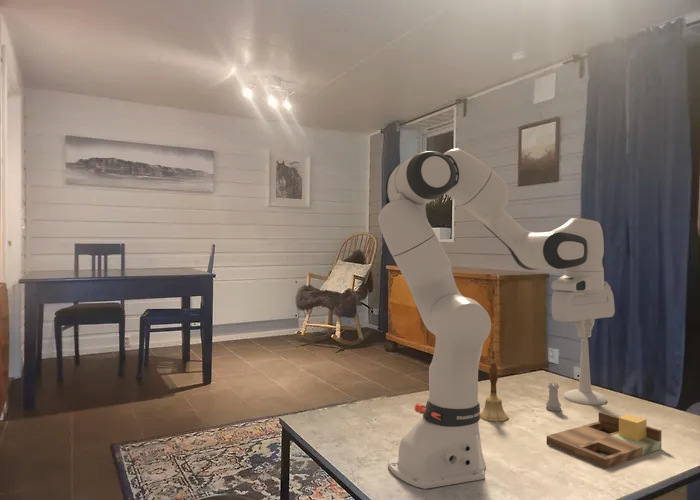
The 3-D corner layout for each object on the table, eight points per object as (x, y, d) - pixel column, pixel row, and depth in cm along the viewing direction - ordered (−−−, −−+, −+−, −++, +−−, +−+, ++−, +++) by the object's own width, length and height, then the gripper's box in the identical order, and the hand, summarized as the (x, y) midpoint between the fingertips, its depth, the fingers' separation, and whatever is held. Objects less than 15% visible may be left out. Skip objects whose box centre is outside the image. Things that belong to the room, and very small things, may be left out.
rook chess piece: (562, 412, 147) (562, 385, 147) (547, 411, 148) (547, 385, 148) (559, 407, 151) (559, 381, 151) (544, 406, 152) (544, 381, 152)
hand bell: (473, 415, 145) (473, 361, 145) (493, 410, 149) (493, 358, 149) (494, 424, 137) (494, 367, 137) (514, 418, 141) (514, 364, 141)
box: (606, 468, 109) (606, 448, 109) (546, 443, 123) (546, 426, 123) (661, 448, 120) (661, 430, 120) (600, 428, 134) (600, 411, 134)
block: (637, 441, 120) (637, 422, 120) (618, 435, 123) (618, 417, 123) (646, 437, 122) (646, 419, 122) (628, 431, 126) (628, 414, 126)
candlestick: (559, 392, 167) (558, 305, 167) (598, 393, 166) (598, 305, 166) (570, 404, 155) (570, 310, 155) (613, 405, 153) (613, 310, 153)
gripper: (598, 280, 130) (598, 331, 130) (546, 283, 121) (547, 338, 121) (621, 281, 125) (621, 335, 125) (569, 284, 115) (569, 343, 115)
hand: (584, 337), depth 123 cm, fingers closed
